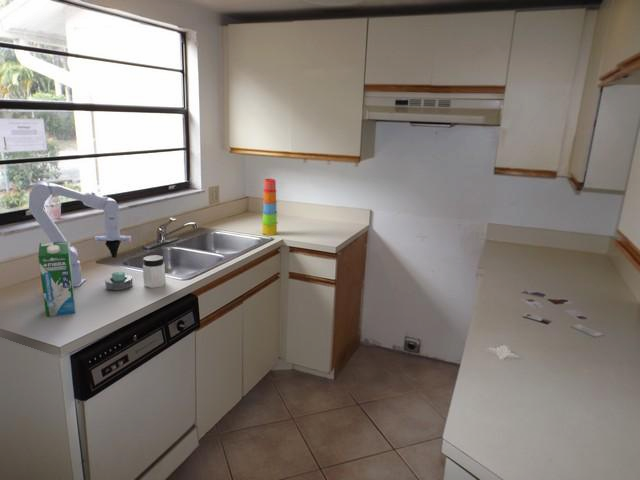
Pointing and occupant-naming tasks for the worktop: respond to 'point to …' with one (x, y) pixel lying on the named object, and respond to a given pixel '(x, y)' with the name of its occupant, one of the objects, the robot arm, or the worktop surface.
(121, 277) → the mint green cube
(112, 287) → the barrel ring
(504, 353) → the acanthus leaf ornament
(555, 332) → the worktop surface
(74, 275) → the robot arm
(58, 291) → the milk carton
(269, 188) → the stacking cups
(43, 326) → the worktop surface
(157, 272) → the jar
